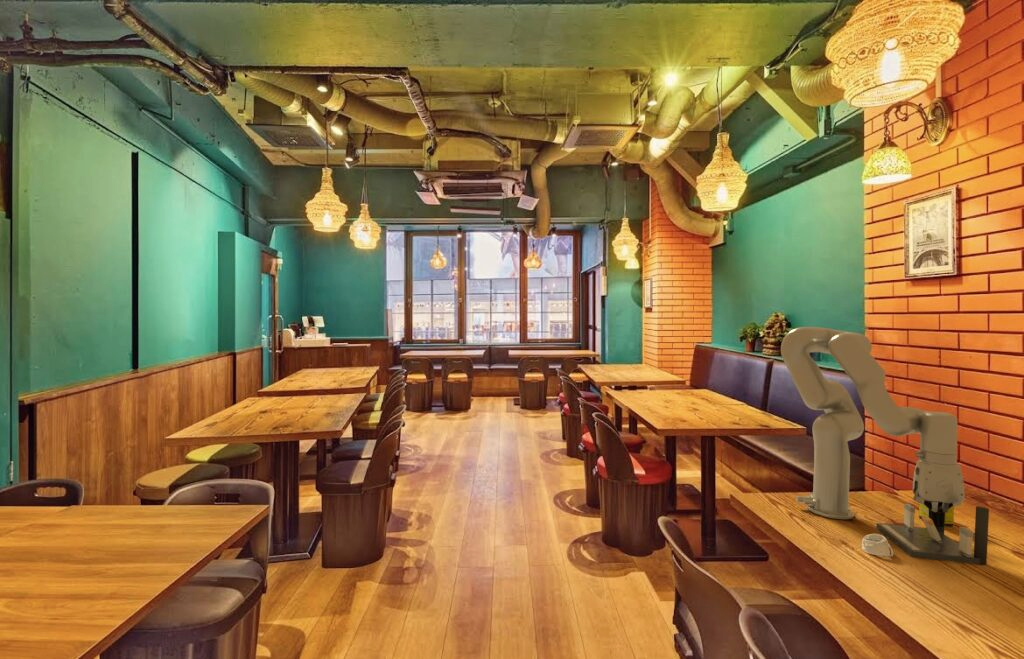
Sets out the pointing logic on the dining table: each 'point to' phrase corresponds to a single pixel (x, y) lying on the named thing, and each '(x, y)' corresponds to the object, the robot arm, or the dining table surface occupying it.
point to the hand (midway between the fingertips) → (936, 525)
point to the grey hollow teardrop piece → (876, 545)
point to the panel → (925, 544)
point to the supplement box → (948, 516)
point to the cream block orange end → (931, 528)
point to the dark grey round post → (979, 534)
